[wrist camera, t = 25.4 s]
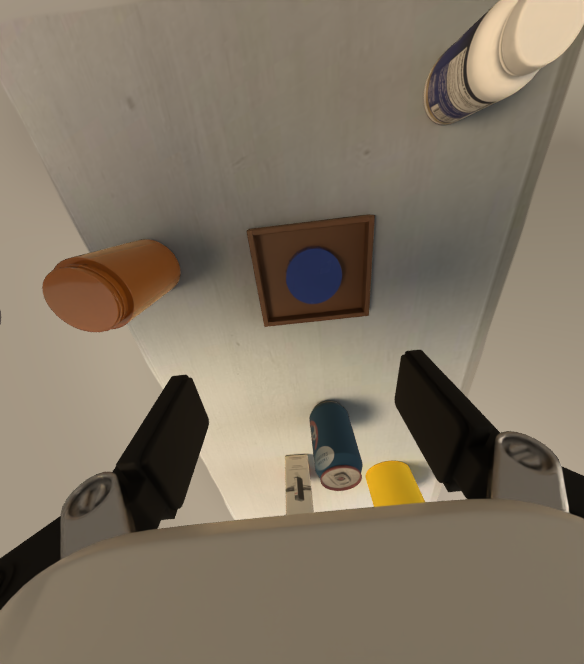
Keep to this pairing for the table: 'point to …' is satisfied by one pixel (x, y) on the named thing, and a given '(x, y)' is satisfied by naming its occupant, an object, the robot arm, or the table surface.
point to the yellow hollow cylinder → (392, 484)
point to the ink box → (298, 485)
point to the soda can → (334, 447)
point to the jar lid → (313, 275)
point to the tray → (332, 234)
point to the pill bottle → (500, 55)
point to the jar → (110, 284)
